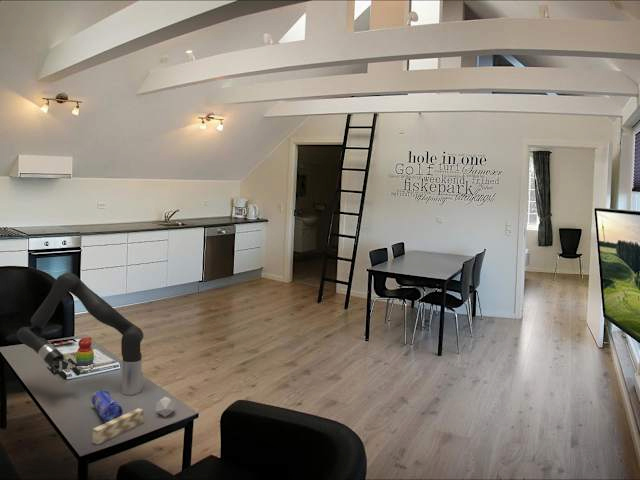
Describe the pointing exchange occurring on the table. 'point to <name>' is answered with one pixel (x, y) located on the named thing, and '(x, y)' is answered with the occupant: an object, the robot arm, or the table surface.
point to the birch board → (117, 426)
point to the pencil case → (106, 405)
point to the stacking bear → (85, 352)
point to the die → (165, 406)
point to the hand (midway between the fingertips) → (73, 376)
